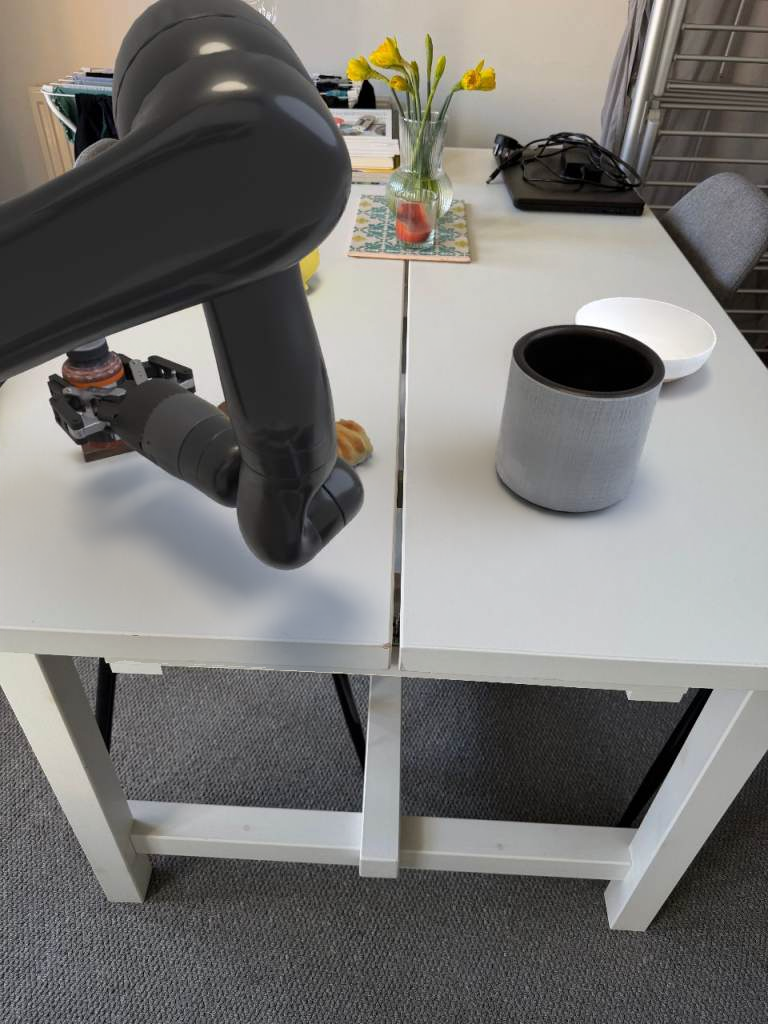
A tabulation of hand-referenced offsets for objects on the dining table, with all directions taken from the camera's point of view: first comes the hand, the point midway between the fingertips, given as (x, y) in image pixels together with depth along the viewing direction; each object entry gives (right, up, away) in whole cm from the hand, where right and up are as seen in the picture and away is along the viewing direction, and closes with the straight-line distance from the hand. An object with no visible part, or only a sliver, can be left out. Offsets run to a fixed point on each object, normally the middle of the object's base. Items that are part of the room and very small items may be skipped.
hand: (82, 371), depth 76 cm
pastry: (+26, -8, +12) cm, 29 cm away
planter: (+53, -10, +10) cm, 55 cm away
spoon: (+6, -5, +15) cm, 16 cm away
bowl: (+68, +7, +31) cm, 75 cm away
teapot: (+14, +23, +48) cm, 56 cm away
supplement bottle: (+2, -7, +3) cm, 8 cm away
